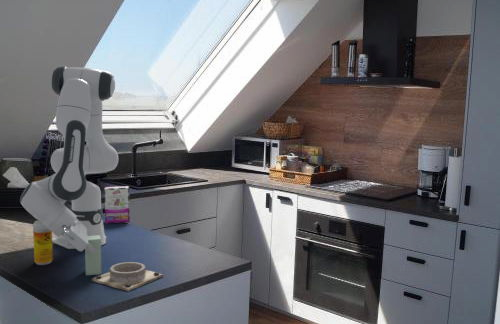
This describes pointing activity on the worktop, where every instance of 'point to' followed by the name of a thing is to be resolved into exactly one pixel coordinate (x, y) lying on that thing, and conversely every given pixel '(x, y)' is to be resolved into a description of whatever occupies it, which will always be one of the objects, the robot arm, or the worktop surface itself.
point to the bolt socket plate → (122, 285)
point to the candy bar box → (117, 204)
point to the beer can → (42, 243)
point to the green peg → (93, 256)
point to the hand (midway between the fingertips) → (94, 249)
